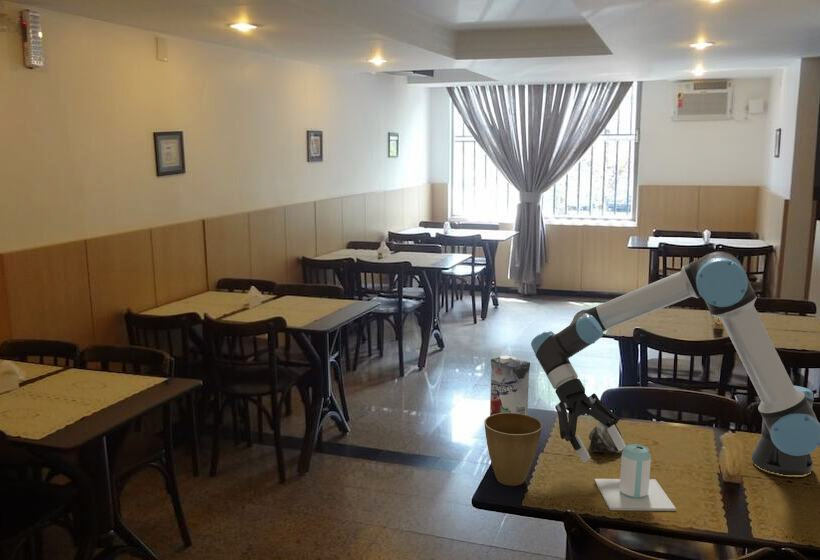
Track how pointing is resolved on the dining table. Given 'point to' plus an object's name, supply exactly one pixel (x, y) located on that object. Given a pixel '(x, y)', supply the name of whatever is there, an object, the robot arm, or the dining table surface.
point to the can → (635, 471)
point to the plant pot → (512, 445)
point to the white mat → (620, 501)
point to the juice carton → (509, 385)
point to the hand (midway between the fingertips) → (605, 454)
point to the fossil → (602, 440)
